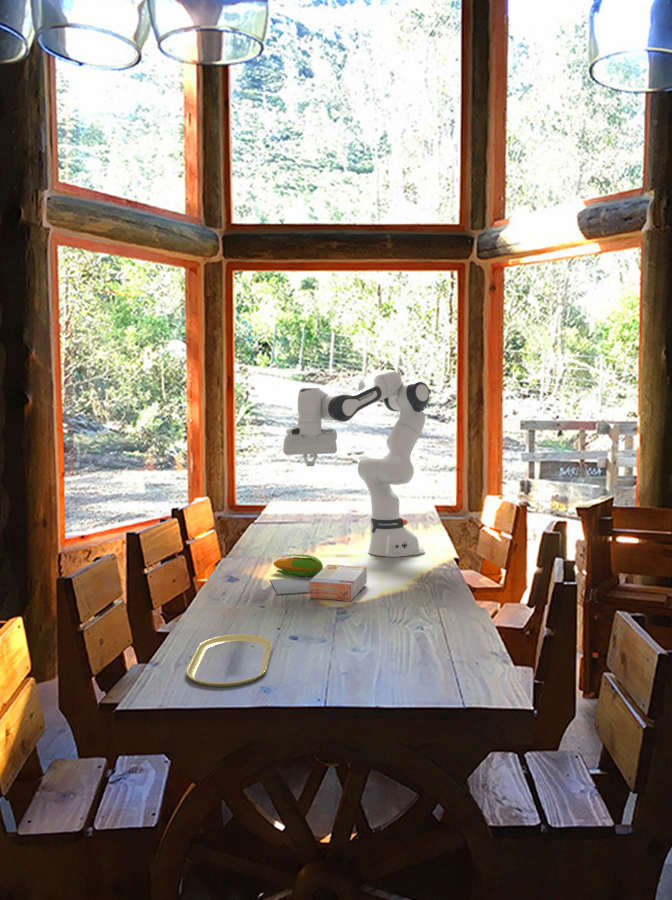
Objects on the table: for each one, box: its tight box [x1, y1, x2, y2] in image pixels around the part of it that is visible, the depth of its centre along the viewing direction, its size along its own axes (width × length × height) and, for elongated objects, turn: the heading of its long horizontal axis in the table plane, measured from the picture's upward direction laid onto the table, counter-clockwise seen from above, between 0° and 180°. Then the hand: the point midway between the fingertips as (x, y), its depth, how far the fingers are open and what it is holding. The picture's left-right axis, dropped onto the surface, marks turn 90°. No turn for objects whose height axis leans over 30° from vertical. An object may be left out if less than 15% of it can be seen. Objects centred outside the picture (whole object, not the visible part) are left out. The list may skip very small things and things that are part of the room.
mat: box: [269, 576, 314, 596], centre depth 270 cm, size 22×20×1 cm
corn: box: [273, 554, 324, 578], centre depth 285 cm, size 7×8×20 cm
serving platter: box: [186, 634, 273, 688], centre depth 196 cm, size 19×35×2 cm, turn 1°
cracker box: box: [309, 564, 368, 602], centre depth 261 cm, size 14×6×21 cm
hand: (310, 466), depth 302 cm, fingers closed
